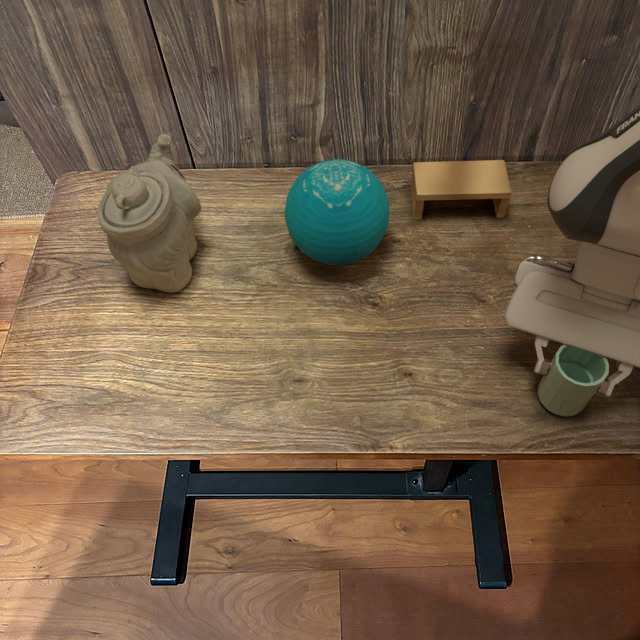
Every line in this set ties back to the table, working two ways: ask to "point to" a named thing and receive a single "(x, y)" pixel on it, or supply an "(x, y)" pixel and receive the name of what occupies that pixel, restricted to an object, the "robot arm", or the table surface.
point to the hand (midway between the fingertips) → (571, 383)
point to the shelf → (460, 183)
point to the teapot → (152, 221)
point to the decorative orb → (337, 212)
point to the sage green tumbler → (572, 380)
